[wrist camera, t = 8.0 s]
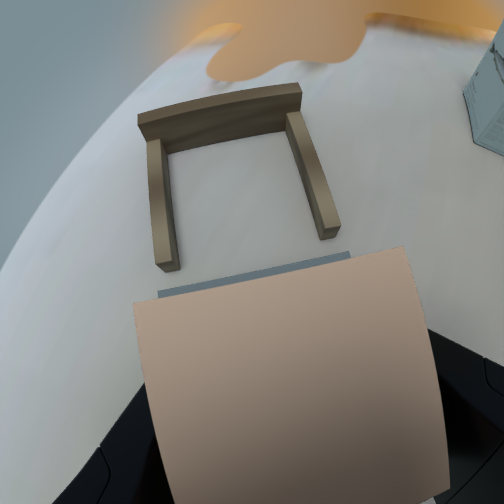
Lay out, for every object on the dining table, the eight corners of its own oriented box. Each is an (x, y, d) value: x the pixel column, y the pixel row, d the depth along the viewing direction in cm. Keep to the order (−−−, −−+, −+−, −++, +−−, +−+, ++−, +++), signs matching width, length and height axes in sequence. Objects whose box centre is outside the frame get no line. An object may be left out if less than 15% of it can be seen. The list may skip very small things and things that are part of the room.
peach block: (337, 412, 13) (450, 488, 4) (239, 433, 13) (192, 552, 4) (316, 318, 15) (403, 245, 5) (219, 339, 14) (132, 303, 5)
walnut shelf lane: (334, 237, 20) (349, 210, 17) (165, 272, 20) (143, 253, 16) (294, 119, 24) (298, 82, 20) (153, 147, 23) (137, 114, 20)
